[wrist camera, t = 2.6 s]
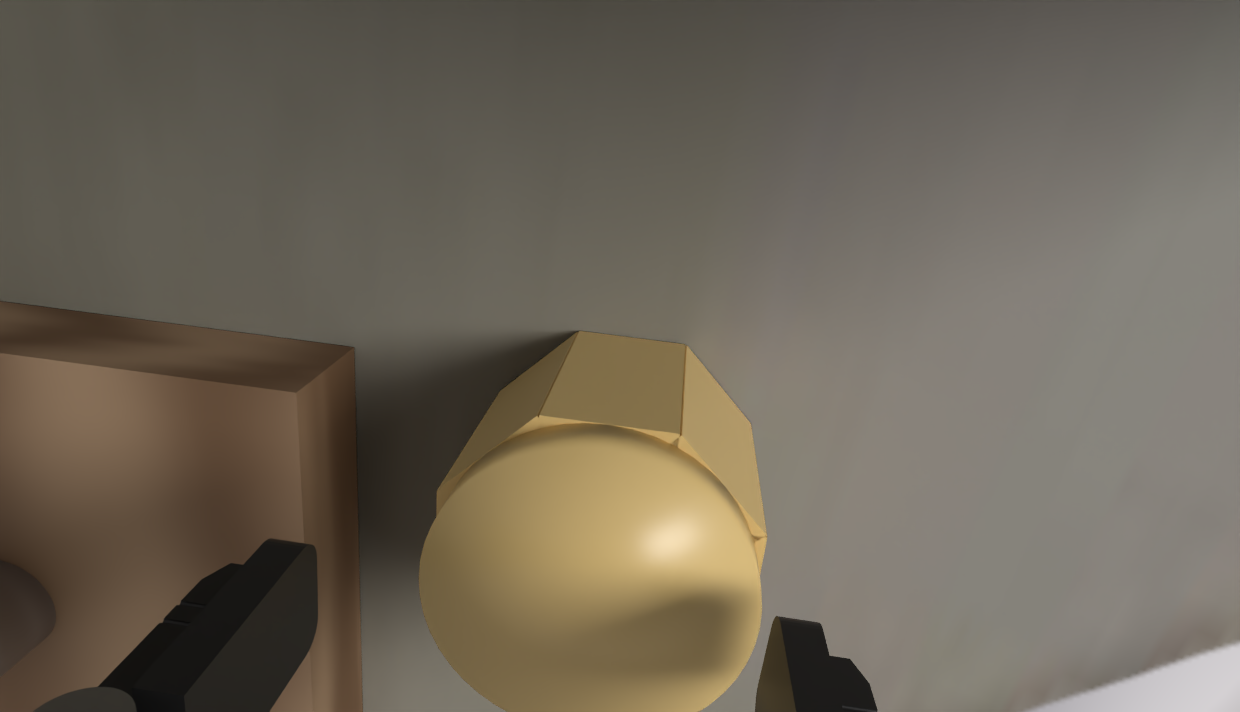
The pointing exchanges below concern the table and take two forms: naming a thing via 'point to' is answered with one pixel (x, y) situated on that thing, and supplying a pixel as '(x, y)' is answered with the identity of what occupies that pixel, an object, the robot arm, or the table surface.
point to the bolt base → (165, 490)
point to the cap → (600, 536)
